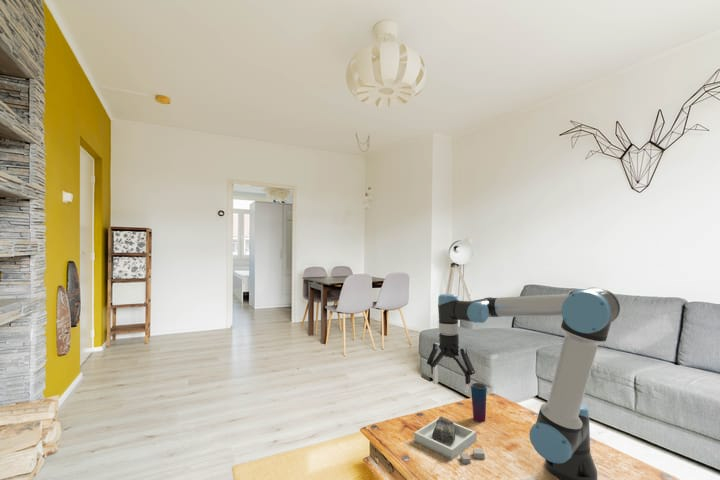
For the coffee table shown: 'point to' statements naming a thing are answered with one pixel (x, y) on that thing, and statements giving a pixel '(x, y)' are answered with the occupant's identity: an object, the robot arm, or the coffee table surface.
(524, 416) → the coffee table surface
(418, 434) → the bin
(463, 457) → the chip
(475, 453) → the grey small block
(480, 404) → the cup
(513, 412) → the coffee table surface
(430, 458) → the coffee table surface
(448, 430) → the rock
